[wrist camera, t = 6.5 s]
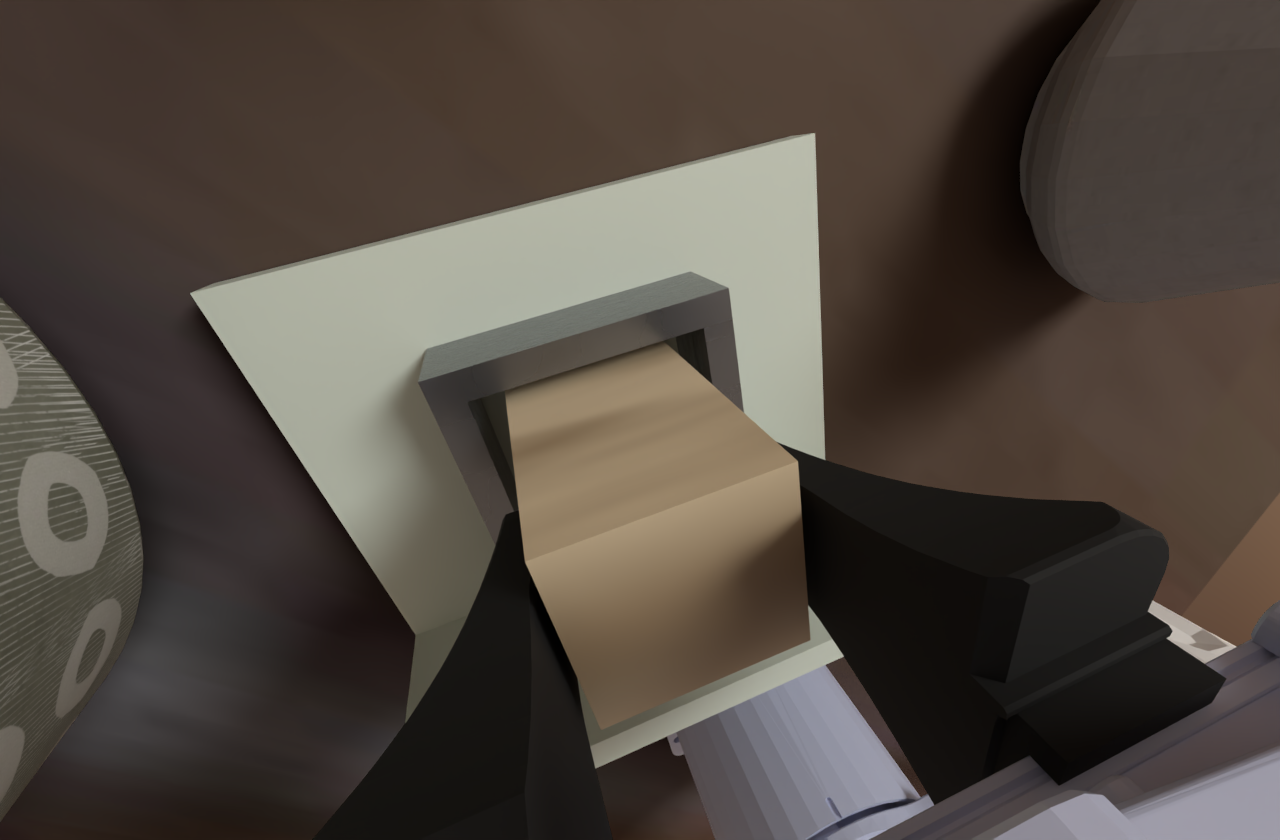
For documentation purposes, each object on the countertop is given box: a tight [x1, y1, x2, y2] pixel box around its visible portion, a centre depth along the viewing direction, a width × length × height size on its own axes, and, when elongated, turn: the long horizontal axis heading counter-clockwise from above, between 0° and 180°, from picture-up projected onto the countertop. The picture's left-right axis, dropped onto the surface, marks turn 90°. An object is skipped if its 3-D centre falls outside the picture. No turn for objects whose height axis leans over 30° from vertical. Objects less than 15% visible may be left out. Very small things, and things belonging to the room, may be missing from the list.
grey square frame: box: [418, 271, 744, 545], centre depth 15 cm, size 9×8×2 cm
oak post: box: [505, 341, 811, 730], centre depth 12 cm, size 4×4×7 cm
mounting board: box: [190, 133, 844, 769], centre depth 14 cm, size 13×16×7 cm
